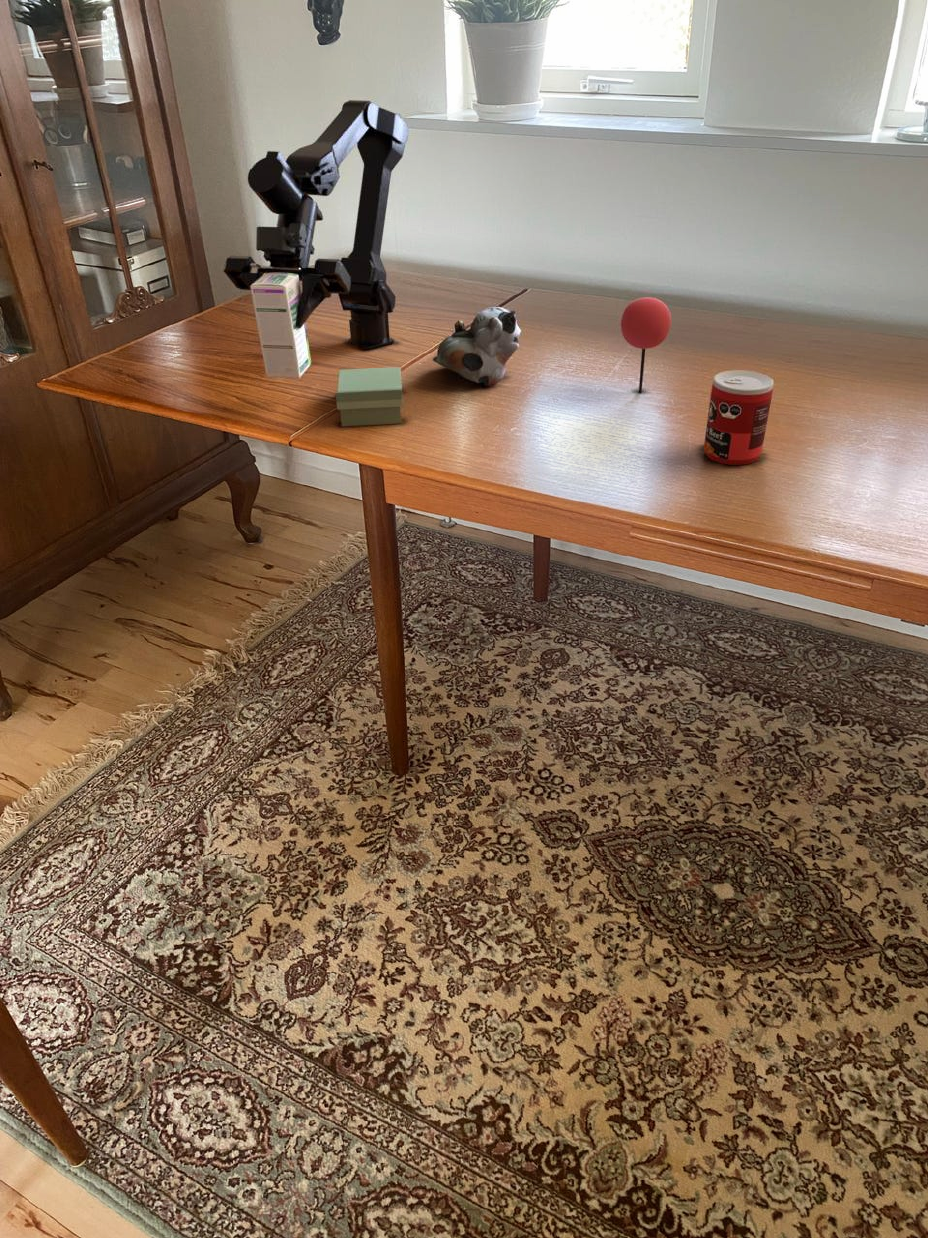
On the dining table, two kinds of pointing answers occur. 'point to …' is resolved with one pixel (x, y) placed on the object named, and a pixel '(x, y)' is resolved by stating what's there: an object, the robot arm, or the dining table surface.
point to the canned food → (737, 416)
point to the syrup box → (280, 325)
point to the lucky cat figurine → (481, 346)
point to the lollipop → (645, 325)
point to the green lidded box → (369, 396)
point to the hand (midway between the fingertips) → (278, 326)
